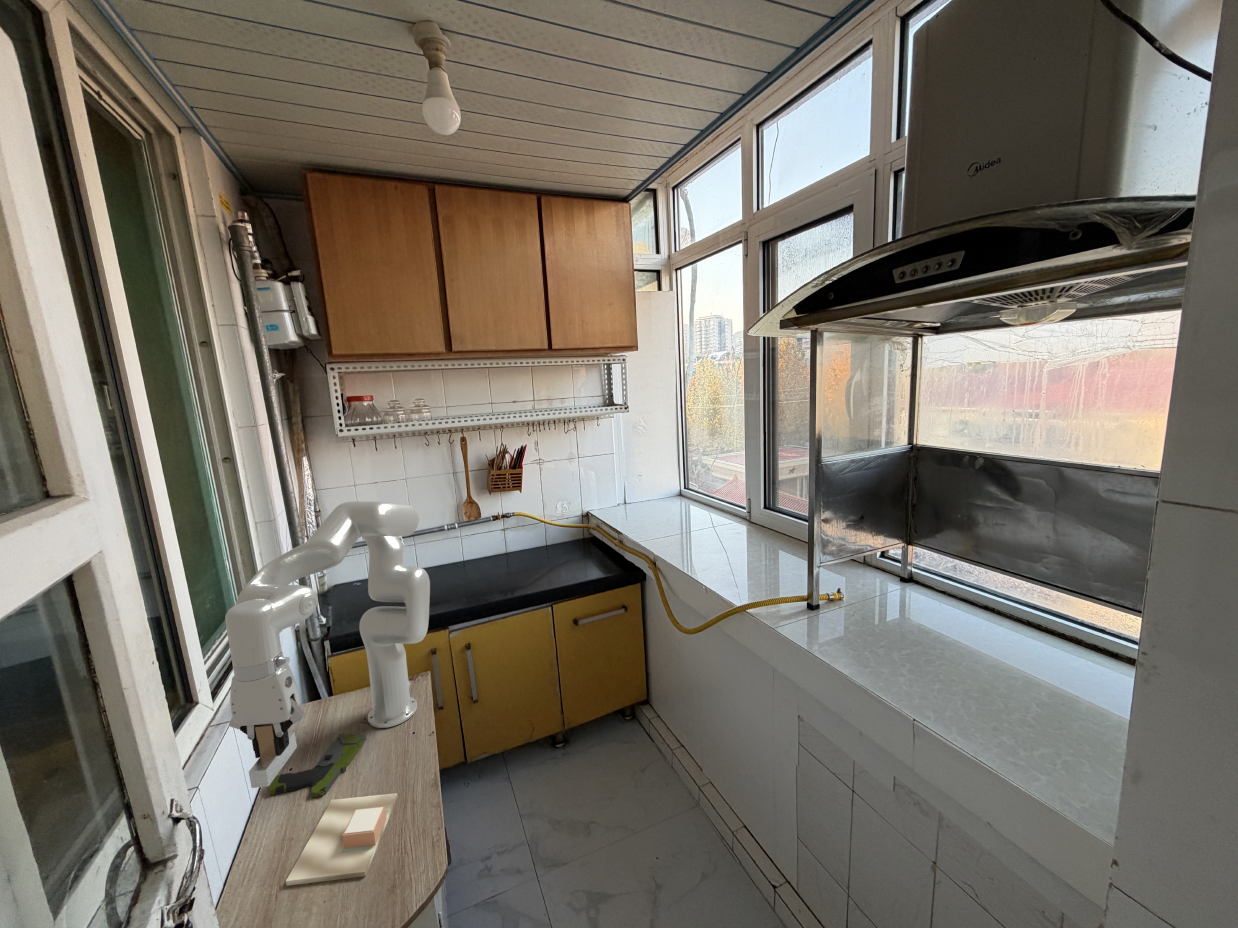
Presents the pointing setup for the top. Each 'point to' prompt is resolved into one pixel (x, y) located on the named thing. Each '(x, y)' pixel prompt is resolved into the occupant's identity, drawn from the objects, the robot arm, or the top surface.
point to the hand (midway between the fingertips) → (272, 750)
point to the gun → (321, 768)
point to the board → (338, 843)
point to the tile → (364, 827)
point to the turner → (269, 756)
